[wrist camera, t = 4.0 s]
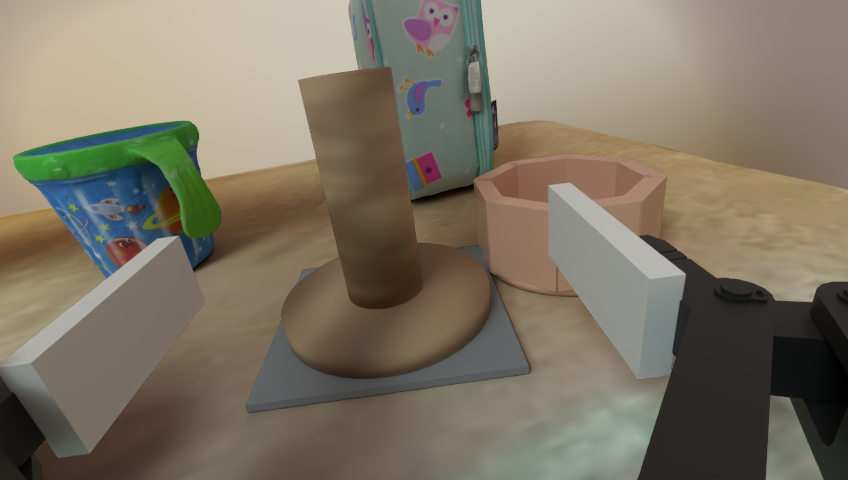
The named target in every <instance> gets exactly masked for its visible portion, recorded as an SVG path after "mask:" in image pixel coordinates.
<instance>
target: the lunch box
mask: <svg viewBox="0 0 848 480" xmlns="http://www.w3.org/2000/svg"><path fill="white" fill-rule="evenodd" d="M481 11H482V10H481V0H350V2H349V17H350V23H351V29H352V35H353V40H354V47H355V53H356V59H357V64H358V69H359V70H363V69H371V68H381V67H391V69H392V76H393V83H394V90H395V97H396V103H397V110H398V117H399V124H400V131H401V138H402V144H403V151H404V158H405V165H406V172H407V178H408V185H409V192H410V199H411V200H414V199H417V198H420V197H423V196H429V195H434V194H437V193H440V192H443V191H447V190H451V189H455V188H459V187H466V186H469V185H471V184H473V183H474V181H473V180H474V179H475V178H477V177H479V176H481V175H483V174H485V173H487V172H489V171H491V170H493V165H494V150H495V149H496V148H497V147H498V124H497V106H496V100H495V101H493V102H491V95H490V87H489V77H488V68H487V59H486V50H485V41H484V33H483V24H482V23H483V22H482V12H481Z"/></svg>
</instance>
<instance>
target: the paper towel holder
mask: <svg viewBox="0 0 848 480" xmlns="http://www.w3.org/2000/svg"><path fill="white" fill-rule="evenodd" d="M298 82H299V86H300V91H301V95H302V99H303V103H304V107H305V112H306V116H307V121H308V125H309V129H310V133H311V138H312V141H313V146H314V150H315V154H316V159H317V163H318V167H319V172H320V176H321V180H322V184H323V189H324V193H325V197H326V201H327V206H328V210H329V214H330V218H331V223H332V227H333V231H334V235H335V240H336V244H337V248H338V253H339V257H340V258H337V259H335V260H333V261H331V262H329V263H327V264H325V265H323V266H321V267H319V268H318V269H316V270H314V271H313V272H311V273H310V274H309V275H307V276H306V277H305V278H303V279H302V280H301V281H300V282H299V283H298V284H297V285H296V286H295V287H294V288H293V289H292V291H291V292H290V293H289V294H288V296H287V298H286V300H285V302H284V304H283V307H282V313H281V319H282V325H283V328H284V331H285V334H286V337H287V340H288V343H289V346H290V348H291V350H292V352H293V353H294V354H295V356H296V357H297V358H298V359H299V360H300V361H302V362H303V363H304V364H305V365H307V366H309V367H311V368H312V369H314V370H317V371H319V372H322V373H325V374H328V375H332V376H337V377H342V378H352V379H376V378H387V377H392V376H398V375H403V374H407V373H411V372H414V371H418V370H421V369H424V368H426V367H429V366H431V365H434V364H436V363H438V362H440V361H442V360H444V359H446V358H448V357H450V356H452V355H453V354H455V353H456V352H458V351H459V350H461V349H462V348H463V347H465V346H466V345H467V344H468V343H470V342H471V341H472V340H473V339H474V338H475V337H476V336H477V335H478V333H479V332H480V331H481V329H482V328H483V326H484V325H485V323H486V321H487V319H488V317H489V313H490V308H491V299H490V285H489V278H488V274H487V272H486V270H485V268H484V267H483V266H482V265H481V263H480V262H479V261H477V260H476V259H475V258H474V257H472V256H470V255H469V254H467V253H465V252H463V251H460V250H458V249H455V248H451V247H448V246H443V245H438V244H430V243H417V240H416V233H415V226H414V219H413V212H412V206H411V199H410V192H409V185H408V178H407V172H406V165H405V158H404V151H403V144H402V138H401V131H400V124H399V117H398V110H397V103H396V97H395V90H394V83H393V76H392V69H391V67H381V68H371V69H363V70H355V71H348V72H341V73H334V74H328V75H322V76H316V77H311V78H305V79H301V80H298Z"/></svg>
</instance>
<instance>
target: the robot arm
mask: <svg viewBox="0 0 848 480" xmlns="http://www.w3.org/2000/svg"><path fill="white" fill-rule="evenodd" d="M548 255H549V256H550V258H551V259H552V260H553V262H554V263H555V265H556V266H557V267H558V269H559V270H560V272H561V273H562V274H563V276H564V277H565V279H566V280H567V281H568V283H569V284H570V285H571V287H572V288H573V290H574V291H575V292H576V294H577V295H578V297H579V298H580V299H581V301H582V302H583V304H584V305H585V306H586V308H587V309H588V310H589V312H590V313H591V315H592V316H593V317H594V319H595V320H596V322H597V323H598V324H599V326H600V327H601V328H602V330H603V331H604V333H605V334H606V335H607V337H608V338H609V340H610V341H611V342H612V344H613V345H614V347H615V348H616V349H617V351H618V352H619V353H620V355H621V356H622V358H623V359H624V360H625V362H626V363H627V365H628V366H629V367H630V369H631V370H632V372H633V373H634V374H635V376H636V377H637V378H638V379H646V378H653V377H661V376H668V375H670V374H671V376H670V379H669V382H668V385H667V388H666V391H665V395H664V398H663V401H662V404H661V407H660V410H659V414H658V417H657V420H656V423H655V426H654V429H653V433H652V436H651V439H650V442H649V445H648V448H647V452H646V455H645V458H644V461H643V464H642V467H641V471H640V474H639V477H638V480H766V463H767V444H768V425H769V407H770V395H773V396H783V397H789V398H790V400H791V402H792V405H793V407H794V410H795V412H796V414H797V417H798V419H799V422H800V424H801V426H802V429H803V431H804V434H805V436H806V438H807V441H808V443H809V446H810V448H811V450H812V453H813V455H814V457H815V460H816V462H817V465H818V467H819V469H820V472H821V474H822V477H823V479H824V480H848V282H829V283H825V284H822V285H820V286H819V287H818V288H817V290H816V293H815V296H814V299H813V302H793V301H776V300H774V298H773V295H772V294H771V293H769V292H768V291H767V290H766V289H764V288H762V287H760V286H758V285H755V284H753V283H750V282H746V281H743V280H739V279H730V278H715V277H714V276H713V275H711V274H710V273H709V272H707V271H706V270H704V269H703V268H702V267H700V266H699V265H698V264H696V263H695V262H693V261H692V260H691V259H687V256H685V255H684V254H682V253H681V252H680V251H679V252H678V251H677V249H676V248H674V247H673V246H671V245H670V244H669V243H667V242H666V241H664V240H661V239H658V238H656V237H653V236H650V235H641V236H637V235H636V234H634V233H633V232H632V231H631V230H629V229H628V228H627V227H626V226H624V225H623V224H622V223H621V222H619V221H618V220H617V219H616V218H614V217H613V216H612V215H610V214H609V213H608V212H607V211H605V210H604V209H603V208H602V207H600V206H599V205H598V204H597V203H595V202H594V201H593V200H591V199H590V198H589V197H588V196H586V195H585V194H584V193H583V192H581V191H580V190H579V189H578V188H576V187H575V186H574V185H573V184H571V183H570V182H569V183H562V184H555V185H548ZM204 303H205V299H204V297H203V294H202V292H201V289H200V287H199V284H198V282H197V279H196V277H195V274H194V272H193V269H192V267H191V264H190V262H189V259H188V257H187V254H186V252H185V249H184V247H183V244H182V242H181V239H180V237H179V236H173V237H165V238H158V239H156V240H155V241H154V242H153V243H151V244H150V245H149V246H147V247H146V248H145V249H144V250H142V251H141V252H140V253H139V254H137V255H136V256H135V257H134V258H132V259H131V260H130V261H129V262H127V263H126V264H125V265H124V266H122V267H121V268H120V269H119V270H117V271H116V272H115V273H114V274H112V275H111V276H110V277H108V278H107V279H106V280H105V281H103V282H102V283H101V284H100V285H98V286H97V287H96V288H95V289H93V290H92V291H91V292H90V293H88V294H87V295H86V296H85V297H83V298H82V299H81V300H80V301H78V302H77V303H76V304H75V305H73V306H72V307H71V308H69V309H68V310H67V311H66V312H64V313H63V314H62V315H61V316H59V317H58V318H57V319H56V320H54V321H53V322H52V323H51V324H49V325H48V326H47V327H46V328H44V329H43V330H42V331H41V332H39V333H38V334H37V335H36V336H34V337H33V338H32V339H30V340H29V341H28V342H27V343H25V344H24V345H23V346H22V347H20V348H19V349H18V350H17V351H15V352H14V353H13V354H12V355H10V356H9V357H8V358H7V359H5V360H4V361H3V362H2V363H0V480H42V469H41V464H40V463H39V461H38V460H37V459H36V457H35V456H34V455H33V453H34V452H35V451H36V450H37V448H38V447H39V446H40V445H41V444H42V443H43V442H44V441H45V440H46V442H47V443H48V445H49V446H50V448H51V449H52V450H53V452H54V453H55V455H56V456H57V458H62V457H69V456H77V455H84V454H90V453H91V451H92V450H93V449H94V448H95V446H96V445H97V444H98V442H99V441H100V440H101V438H102V437H103V436H104V434H105V433H106V432H107V430H108V429H109V428H110V426H111V425H112V424H113V422H114V421H115V420H116V419H117V417H118V416H119V415H120V413H121V412H122V411H123V409H124V408H125V407H126V405H127V404H128V403H129V401H130V400H131V399H132V397H133V396H134V395H135V393H136V392H137V391H138V390H139V388H140V387H141V386H142V384H143V383H144V382H145V380H146V379H147V378H148V376H149V375H150V374H151V372H152V371H153V370H154V368H155V367H156V366H157V365H158V363H159V362H160V361H161V359H162V358H163V357H164V355H165V354H166V353H167V351H168V350H169V349H170V347H171V346H172V345H173V343H174V342H175V341H176V339H177V338H178V337H179V336H180V334H181V333H182V332H183V330H184V329H185V328H186V326H187V325H188V324H189V322H190V321H191V320H192V318H193V317H194V316H195V314H196V313H197V312H198V311H199V309H200V308H201V307H202V305H203V304H204ZM673 355H675V357H676V360H675V363H674V366H673V369H672V373H671V368H672V361H673Z"/></svg>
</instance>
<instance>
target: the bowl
mask: <svg viewBox="0 0 848 480" xmlns="http://www.w3.org/2000/svg"><path fill="white" fill-rule="evenodd" d="M666 180H667V176H666V175H664V174H662V173H660V172H658V171H656V170H654V169H652V168H649V167H647V166H645V165H643V164H641V163H639V162H637V161H635V160H633V159H630V158H622V157H607V156H592V155H577V154H562V155H555V156H547V157H540V158H533V159H526V160H518V161H511V162H507V163H505V164H503V165H501V166H499V167H497V168H495V169H493V170H491V171H489V172H487V173H485V174H483V175H481V176H479V177H477V178H475V179H474V180H473V181H474V194H475V207H476V219H477V232H478V244H479V246H480V249H481V251H482V254H483V257H484V260H485V262H486V264H487V267H488V269H489V271H490V273H491V274H493V275H494V276H495V277H496V278H498V279H499V280H501V281H503V282H504V283H507V284H509V285H511V286H513V287H516V288H519V289H522V290H526V291H530V292H534V293H539V294H545V295H554V296H578V295H577V294H576V292H575V291H574V290H573V288H572V287H571V285H570V284H569V283H568V281H567V280H566V279H565V277H564V276H563V274H562V273H561V272H560V270H559V269H558V267H557V266H556V265H555V263H554V262H553V260H552V259H551V258H550V256H549V255H548V185H555V184H562V183H569V182H570V183H571V184H573V185H574V186H575V187H576V188H578V189H579V190H580V191H581V192H583V193H584V194H585V195H586V196H588V197H589V198H590V199H591V200H593V201H594V202H595V203H597V204H598V205H599V206H600V207H602V208H603V209H604V210H605V211H607V212H608V213H609V214H610V215H612V216H613V217H614V218H616V219H617V220H618V221H619V222H621V223H622V224H623V225H624V226H626V227H627V228H628V229H629V230H631V231H632V232H633V233H634V234H636V235H637V236H641V235H650V236H653V237H656V238H658V239H660V231H661V223H662V214H663V206H664V197H665V189H666Z"/></svg>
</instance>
